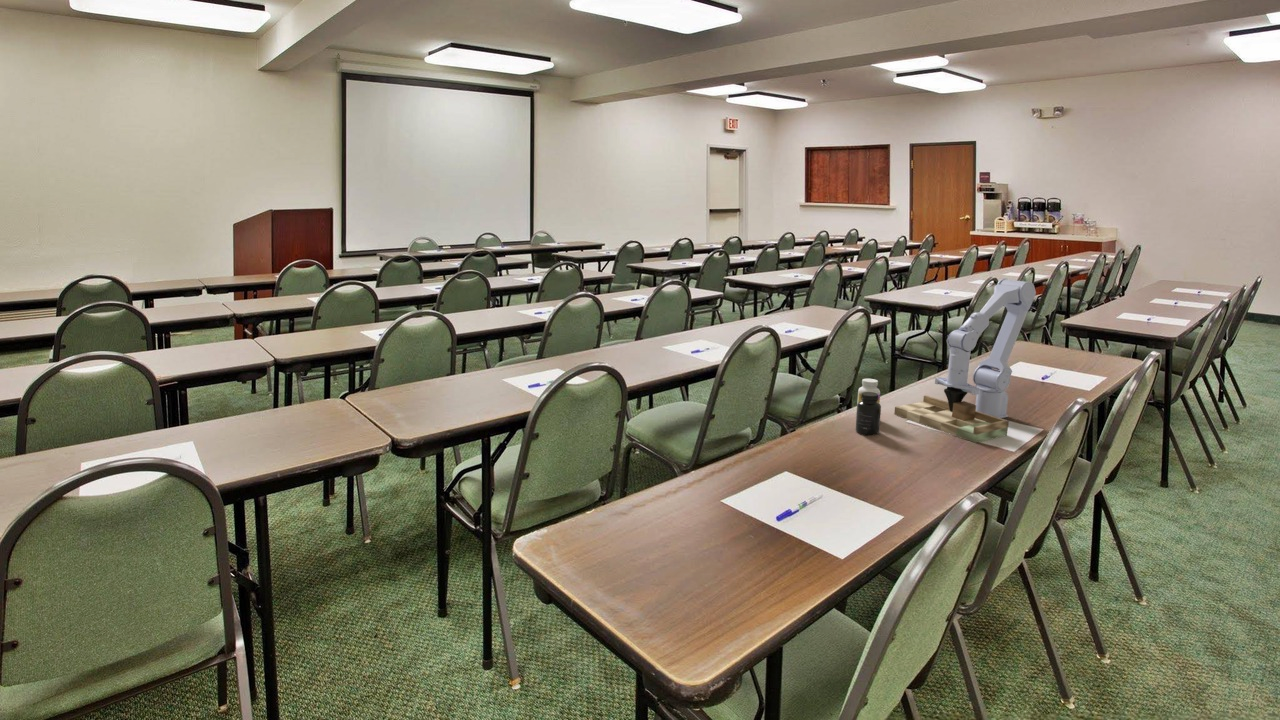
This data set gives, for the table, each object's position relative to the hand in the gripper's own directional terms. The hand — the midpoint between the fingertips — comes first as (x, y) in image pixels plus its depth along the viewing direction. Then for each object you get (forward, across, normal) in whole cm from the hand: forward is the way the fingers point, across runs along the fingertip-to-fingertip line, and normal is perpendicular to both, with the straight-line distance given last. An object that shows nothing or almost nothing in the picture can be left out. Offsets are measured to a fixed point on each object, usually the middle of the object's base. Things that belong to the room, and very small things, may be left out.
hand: (953, 411), depth 221 cm
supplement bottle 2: (+4, -5, -31) cm, 32 cm away
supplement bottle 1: (+4, -14, -22) cm, 26 cm away
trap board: (+3, +1, -3) cm, 5 cm away
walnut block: (+1, +4, 0) cm, 4 cm away
